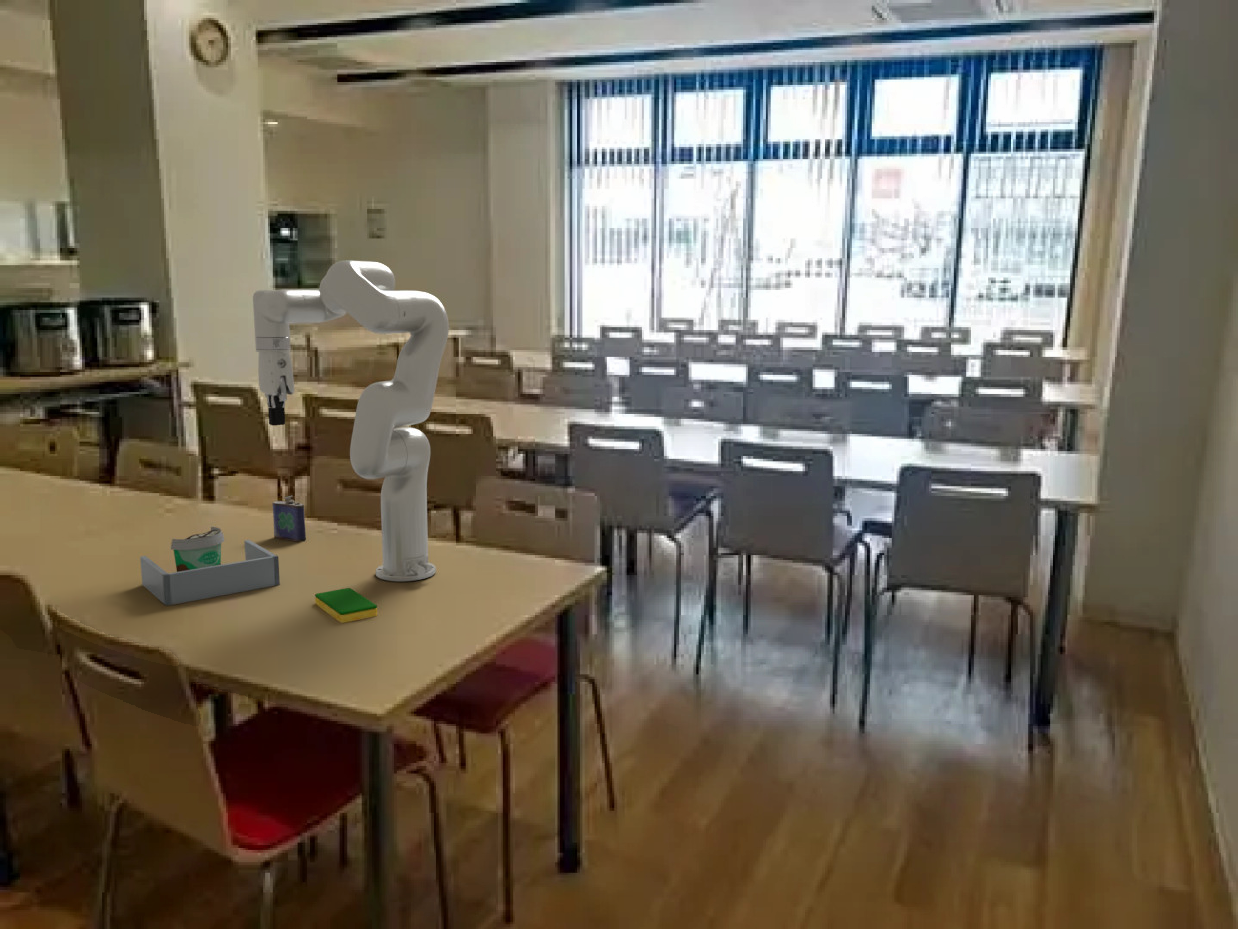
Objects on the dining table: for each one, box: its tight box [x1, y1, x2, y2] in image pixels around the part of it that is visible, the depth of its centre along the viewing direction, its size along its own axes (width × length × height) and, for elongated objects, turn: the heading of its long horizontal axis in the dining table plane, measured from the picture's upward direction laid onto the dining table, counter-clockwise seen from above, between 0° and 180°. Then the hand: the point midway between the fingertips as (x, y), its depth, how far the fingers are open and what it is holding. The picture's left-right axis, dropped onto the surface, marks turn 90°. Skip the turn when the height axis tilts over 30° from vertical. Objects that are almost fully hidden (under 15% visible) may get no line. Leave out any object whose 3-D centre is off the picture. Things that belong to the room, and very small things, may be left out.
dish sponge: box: [314, 587, 378, 623], centre depth 184 cm, size 7×14×2 cm, turn 37°
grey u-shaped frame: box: [139, 539, 281, 607], centre depth 198 cm, size 17×22×6 cm
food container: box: [170, 526, 225, 572], centre depth 200 cm, size 12×6×10 cm, turn 162°
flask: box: [272, 495, 307, 543], centre depth 234 cm, size 9×3×11 cm, turn 65°
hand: (277, 424), depth 223 cm, fingers closed
